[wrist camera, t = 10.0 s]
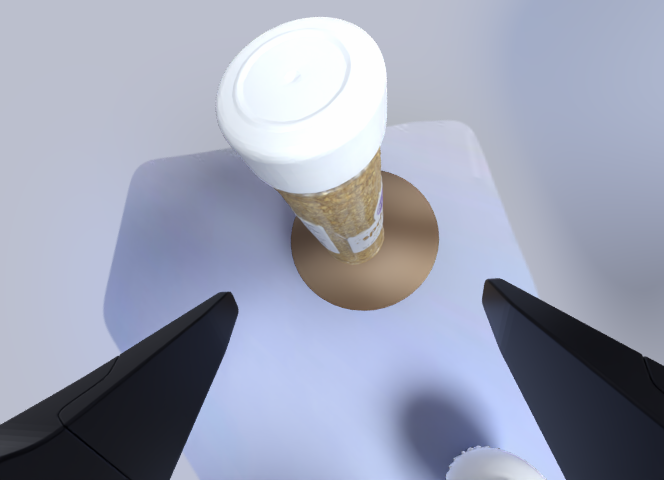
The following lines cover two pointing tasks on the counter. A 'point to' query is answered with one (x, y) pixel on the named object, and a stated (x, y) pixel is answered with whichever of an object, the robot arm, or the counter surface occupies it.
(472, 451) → the muffin
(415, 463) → the counter surface
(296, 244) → the walnut footstool
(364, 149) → the sprinkles bottle
